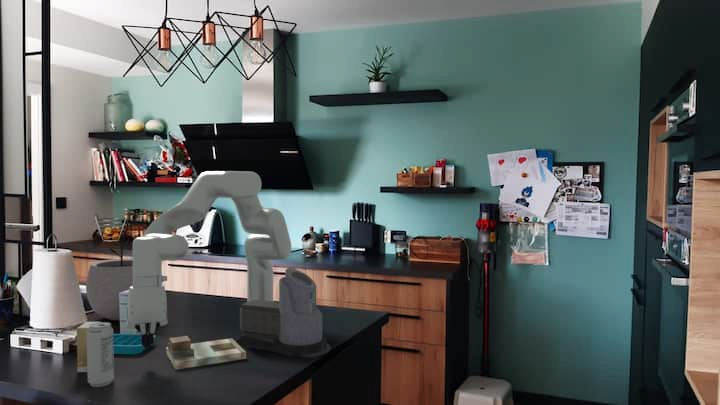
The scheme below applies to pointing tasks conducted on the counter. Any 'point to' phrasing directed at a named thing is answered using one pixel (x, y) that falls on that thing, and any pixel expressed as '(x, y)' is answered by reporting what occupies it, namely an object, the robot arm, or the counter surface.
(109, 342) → the energy drink can
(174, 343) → the walnut block
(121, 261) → the plant pot
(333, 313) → the counter surface
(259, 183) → the robot arm
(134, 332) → the syrup box
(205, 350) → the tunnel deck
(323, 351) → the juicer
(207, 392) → the counter surface
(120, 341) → the ice cube tray
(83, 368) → the skincare box
